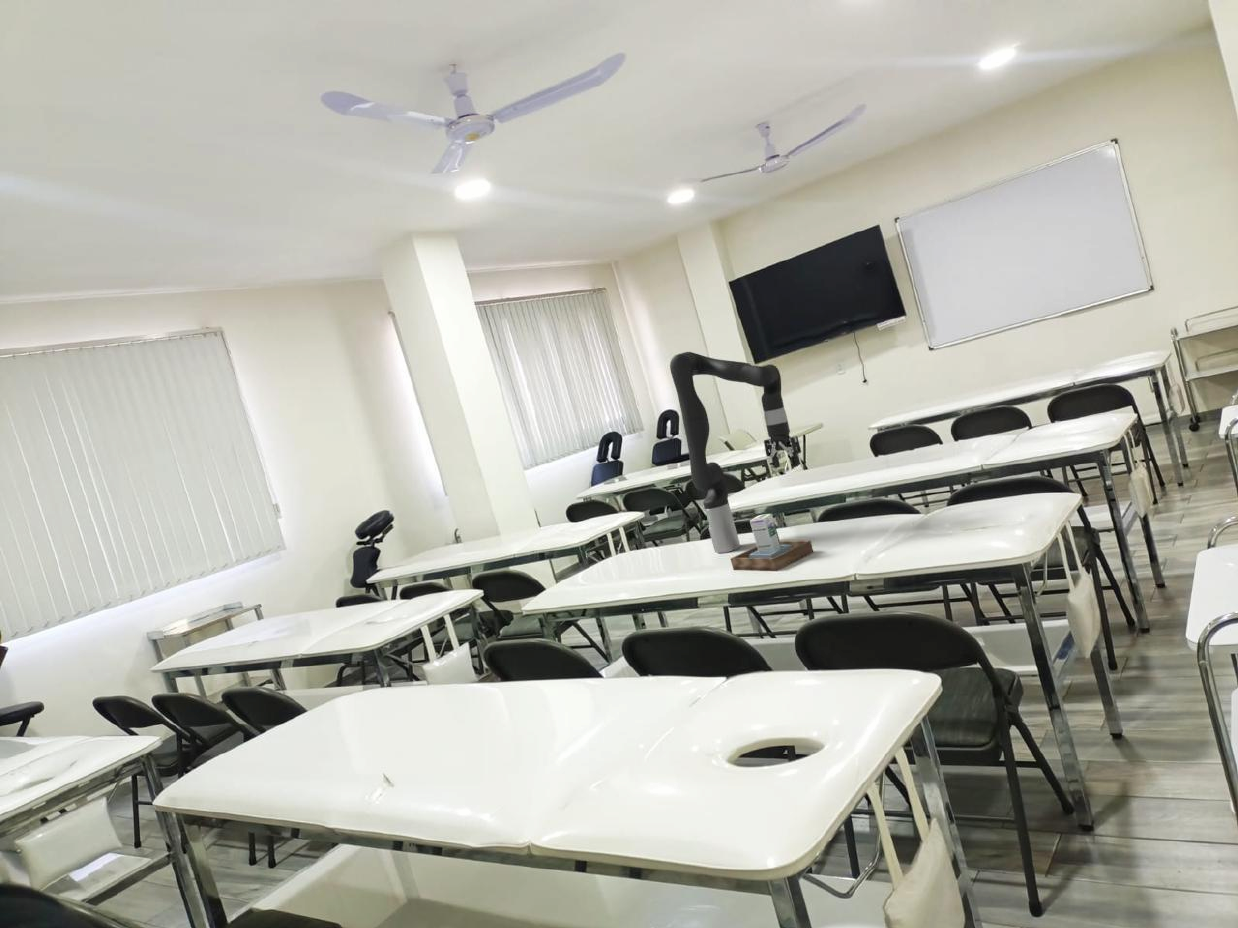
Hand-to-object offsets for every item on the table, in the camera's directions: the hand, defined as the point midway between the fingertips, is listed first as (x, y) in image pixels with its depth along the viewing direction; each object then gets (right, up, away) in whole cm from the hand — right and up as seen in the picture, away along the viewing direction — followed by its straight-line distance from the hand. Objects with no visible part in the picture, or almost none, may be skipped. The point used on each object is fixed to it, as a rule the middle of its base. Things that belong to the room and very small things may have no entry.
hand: (786, 467), depth 285 cm
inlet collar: (-7, -31, -15) cm, 35 cm away
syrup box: (-8, -30, -14) cm, 34 cm away
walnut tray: (-7, -31, -15) cm, 35 cm away
